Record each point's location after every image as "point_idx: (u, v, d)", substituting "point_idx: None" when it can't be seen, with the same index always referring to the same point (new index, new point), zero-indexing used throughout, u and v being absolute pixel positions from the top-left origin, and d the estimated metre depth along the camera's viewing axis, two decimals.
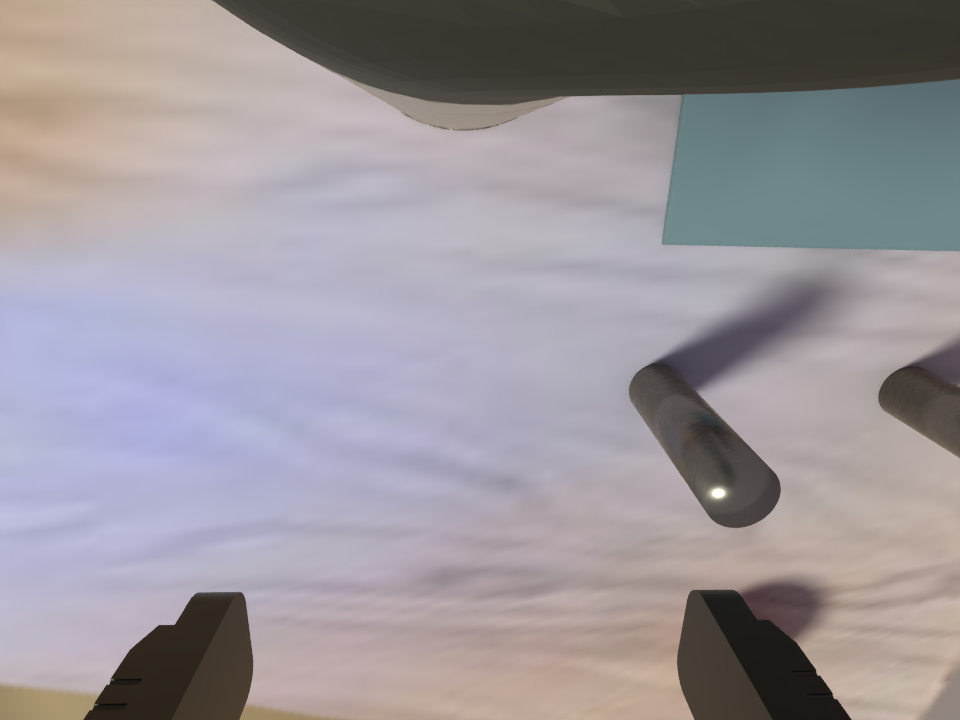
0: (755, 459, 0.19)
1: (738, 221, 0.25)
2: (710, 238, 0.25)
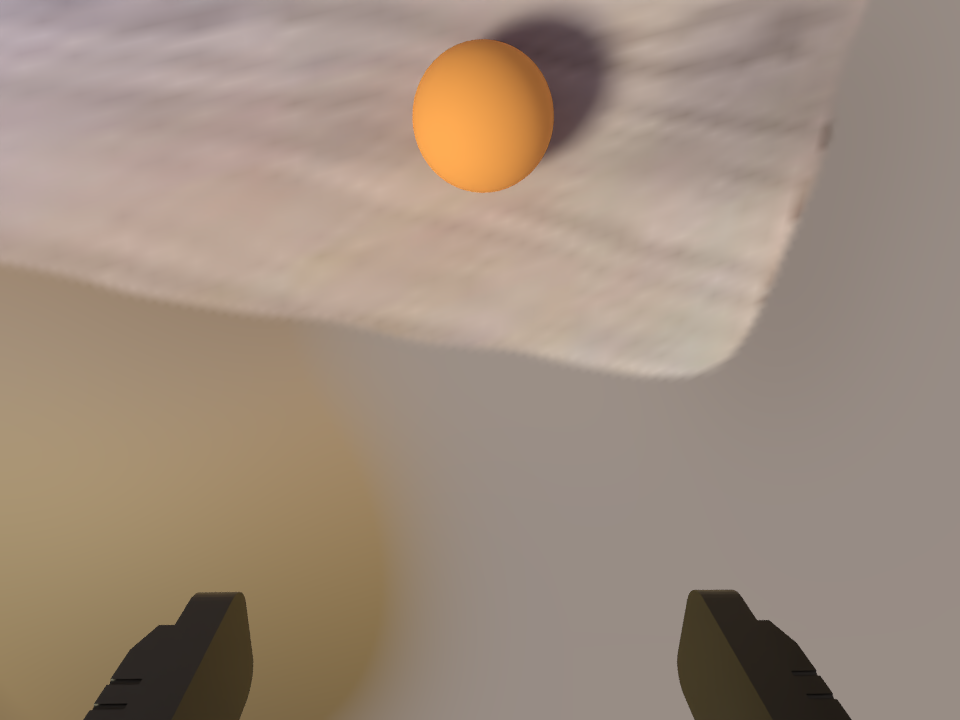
0: None
1: None
2: None
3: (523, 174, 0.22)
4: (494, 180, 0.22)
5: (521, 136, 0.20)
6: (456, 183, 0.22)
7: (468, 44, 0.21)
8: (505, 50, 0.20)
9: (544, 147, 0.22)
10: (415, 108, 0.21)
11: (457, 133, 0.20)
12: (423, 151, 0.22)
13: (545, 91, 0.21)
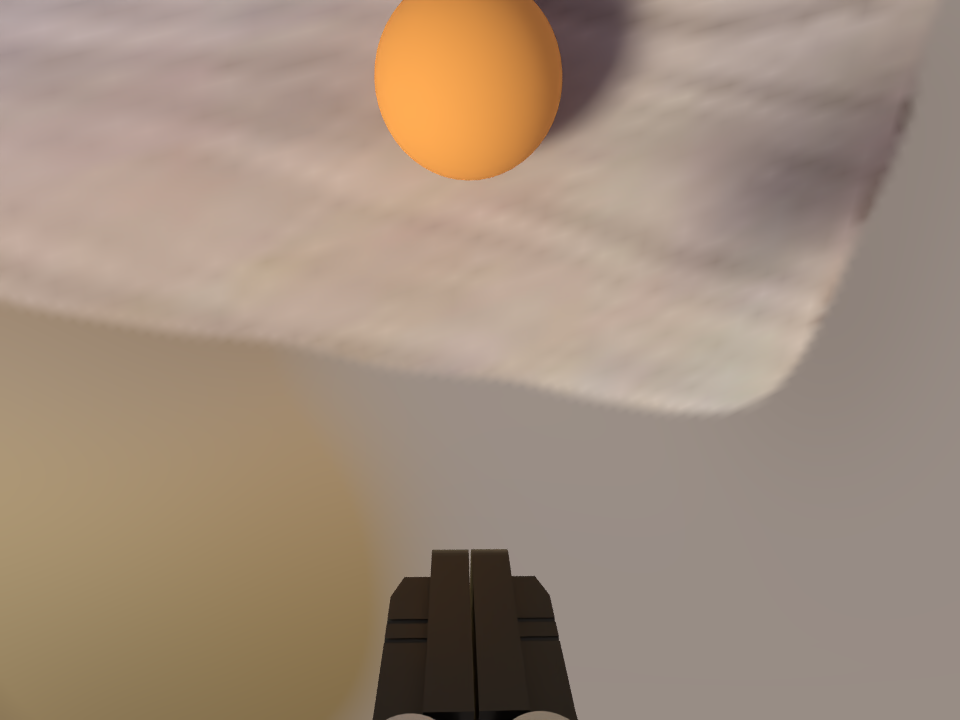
0: None
1: None
2: None
3: (521, 155, 0.17)
4: (482, 161, 0.16)
5: (518, 99, 0.15)
6: (432, 166, 0.17)
7: None
8: None
9: (549, 119, 0.16)
10: (377, 64, 0.16)
11: (430, 94, 0.15)
12: (388, 123, 0.16)
13: (551, 41, 0.15)
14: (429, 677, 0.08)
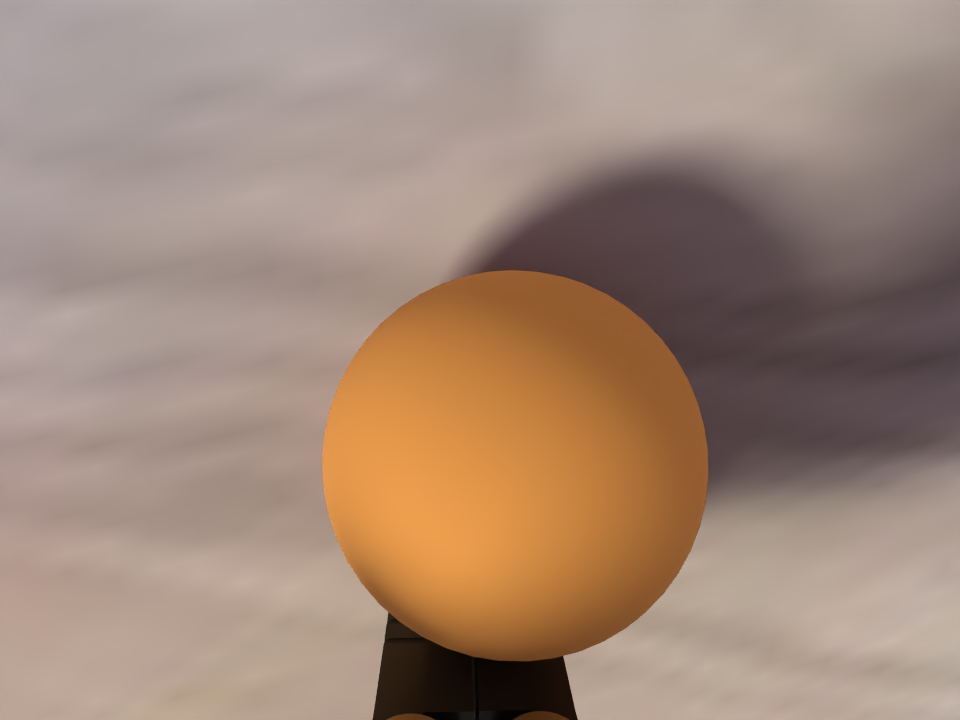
0: None
1: None
2: None
3: (646, 609, 0.07)
4: (566, 645, 0.07)
5: (653, 512, 0.06)
6: (444, 646, 0.07)
7: (469, 277, 0.08)
8: (569, 284, 0.08)
9: (698, 527, 0.08)
10: (326, 438, 0.08)
11: (443, 515, 0.06)
12: (345, 554, 0.07)
13: (687, 380, 0.08)
14: (429, 677, 0.08)
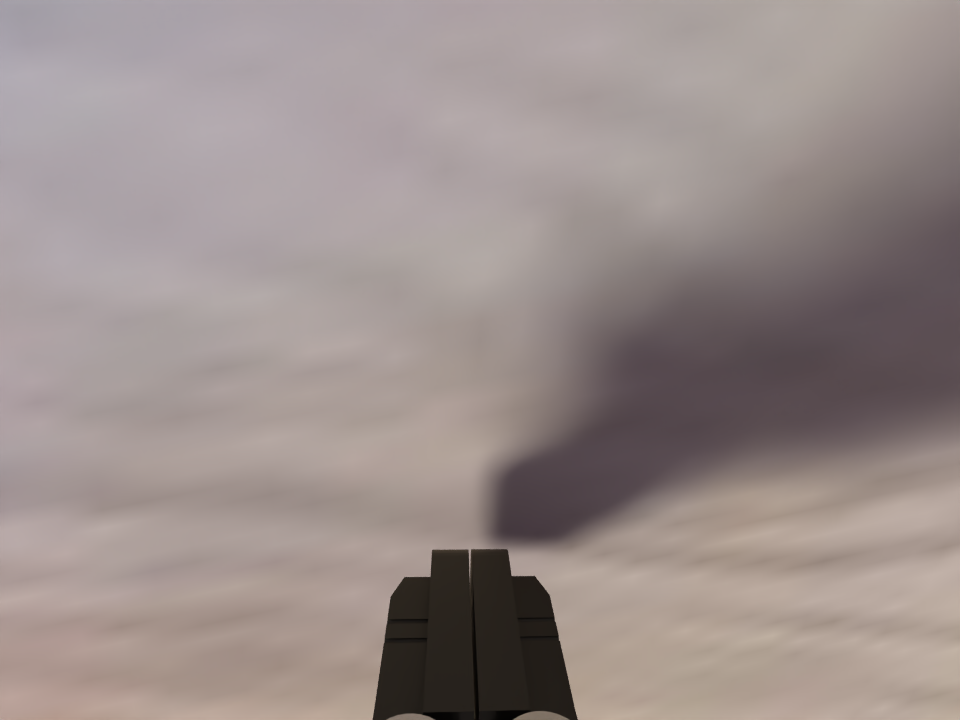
0: None
1: None
2: None
3: None
4: None
5: None
6: None
7: None
8: None
9: None
10: None
11: None
12: None
13: None
14: (429, 677, 0.08)
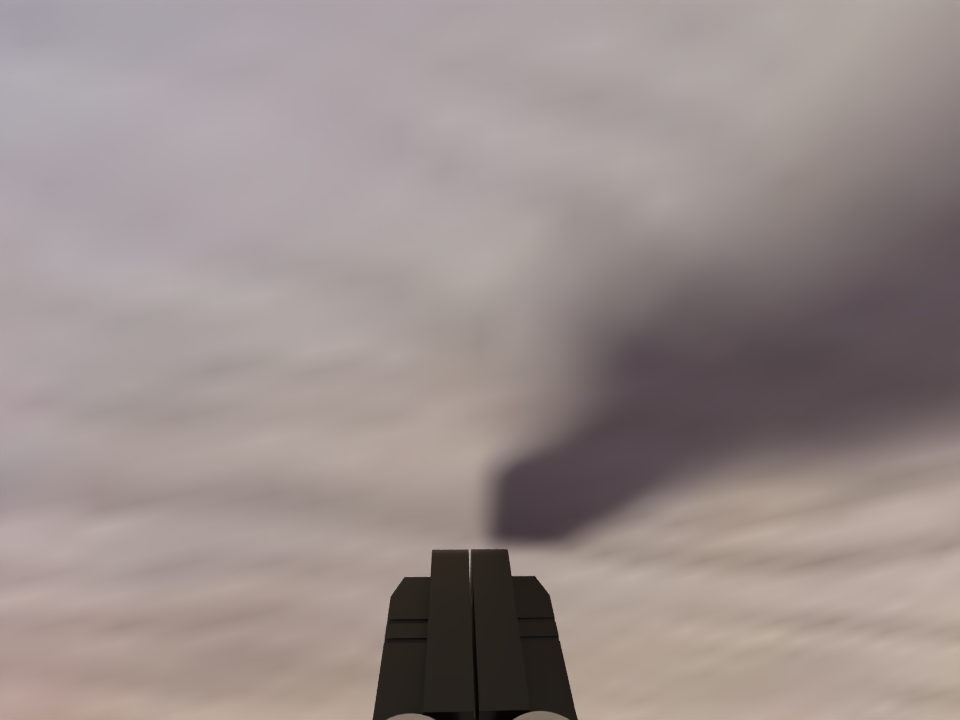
0: None
1: None
2: None
3: None
4: None
5: None
6: None
7: None
8: None
9: None
10: None
11: None
12: None
13: None
14: (429, 677, 0.08)
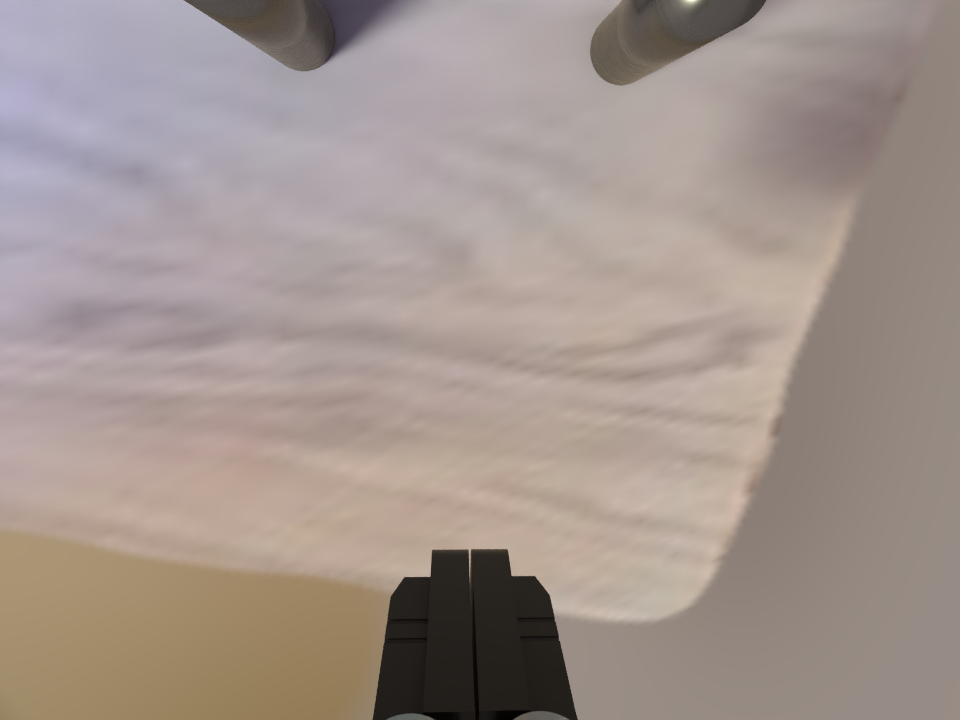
0: None
1: None
2: None
3: None
4: None
5: None
6: None
7: None
8: None
9: None
10: None
11: None
12: None
13: None
14: (429, 677, 0.08)
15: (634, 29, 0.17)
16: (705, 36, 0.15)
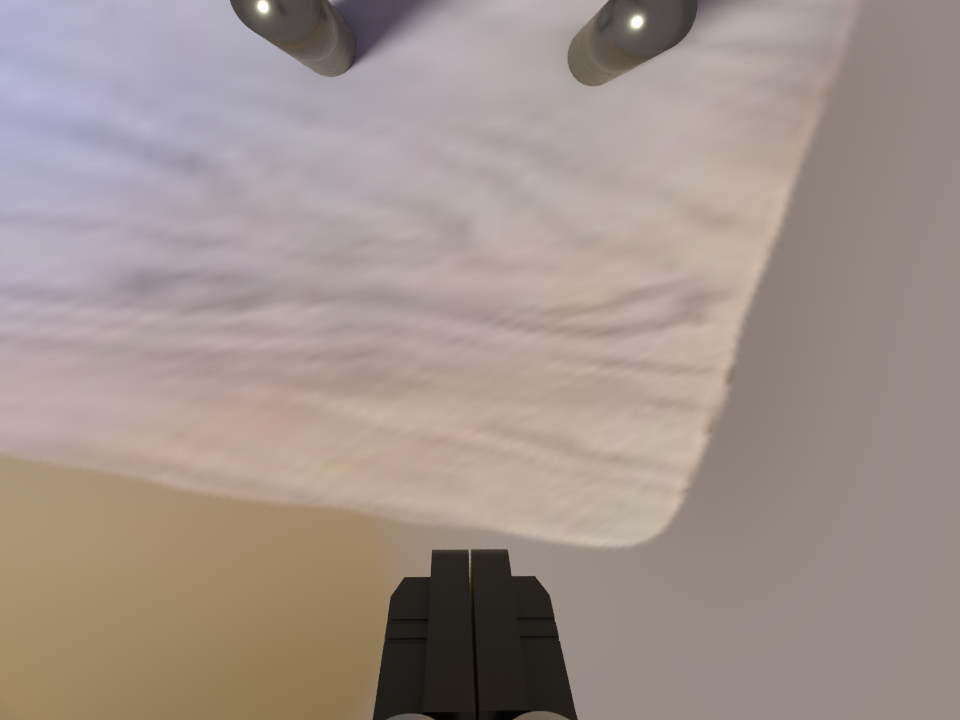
0: None
1: None
2: None
3: None
4: None
5: None
6: None
7: None
8: None
9: None
10: None
11: None
12: None
13: None
14: (429, 677, 0.08)
15: (597, 46, 0.22)
16: (647, 54, 0.20)
